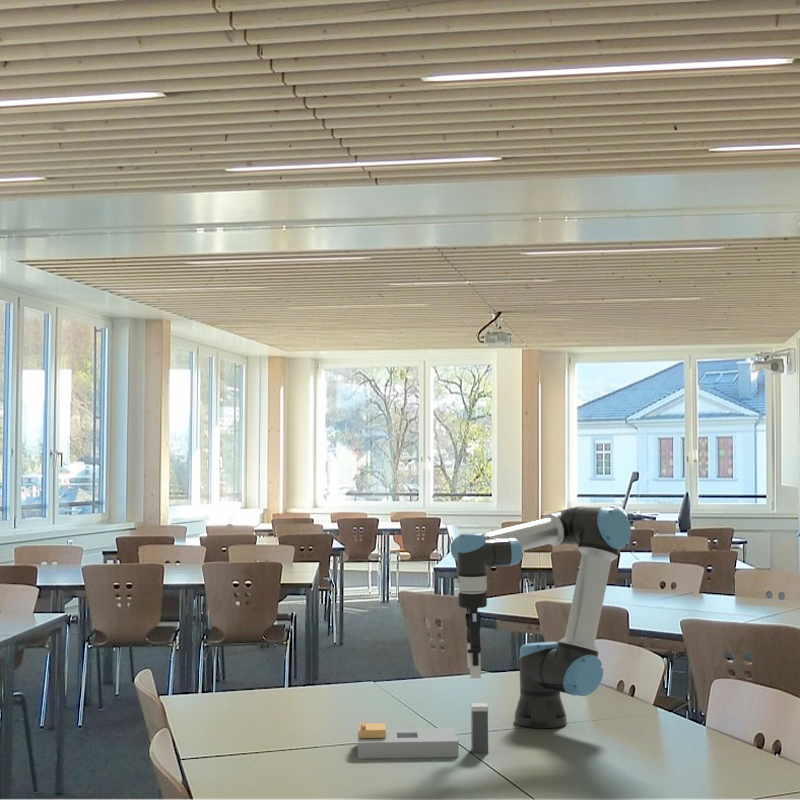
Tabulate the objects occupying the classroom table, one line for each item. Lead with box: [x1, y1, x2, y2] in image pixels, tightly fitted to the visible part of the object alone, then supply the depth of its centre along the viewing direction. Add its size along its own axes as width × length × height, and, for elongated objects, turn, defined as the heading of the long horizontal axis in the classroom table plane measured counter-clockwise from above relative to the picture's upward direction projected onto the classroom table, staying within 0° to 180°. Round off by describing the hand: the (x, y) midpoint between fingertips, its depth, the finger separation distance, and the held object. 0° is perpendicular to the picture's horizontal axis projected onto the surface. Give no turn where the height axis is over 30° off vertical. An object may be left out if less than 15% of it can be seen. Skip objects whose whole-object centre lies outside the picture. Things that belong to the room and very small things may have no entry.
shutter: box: [358, 720, 387, 738], centre depth 286 cm, size 7×7×3 cm
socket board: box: [357, 727, 460, 759], centre depth 286 cm, size 26×14×4 cm, turn 92°
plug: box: [470, 702, 489, 755], centre depth 285 cm, size 4×4×12 cm
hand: (474, 672), depth 286 cm, fingers open, 13 cm apart
